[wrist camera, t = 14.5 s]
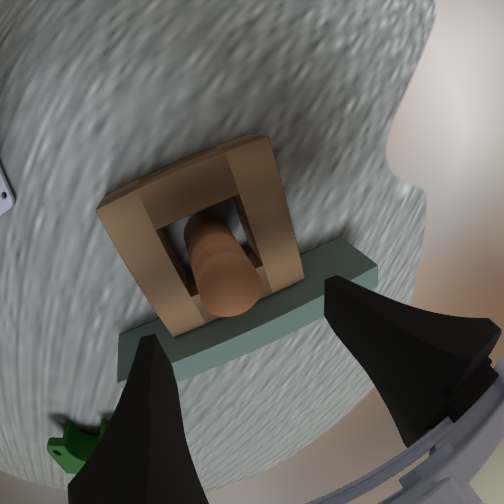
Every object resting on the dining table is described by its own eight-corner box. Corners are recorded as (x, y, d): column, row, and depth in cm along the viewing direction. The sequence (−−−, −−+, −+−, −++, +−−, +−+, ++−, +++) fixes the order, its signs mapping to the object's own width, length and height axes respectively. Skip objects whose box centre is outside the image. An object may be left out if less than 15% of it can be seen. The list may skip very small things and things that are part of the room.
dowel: (179, 219, 18) (192, 274, 12) (222, 207, 19) (258, 255, 13) (189, 258, 19) (208, 323, 14) (230, 246, 20) (265, 305, 14)
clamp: (114, 394, 29) (140, 440, 22) (129, 424, 31) (157, 468, 24) (38, 420, 22) (48, 471, 15) (59, 449, 23) (75, 498, 17)
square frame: (104, 195, 16) (95, 210, 13) (251, 133, 17) (268, 136, 14) (169, 310, 21) (173, 337, 18) (287, 258, 22) (304, 278, 20)
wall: (118, 335, 20) (117, 382, 16) (340, 236, 23) (377, 265, 19) (131, 350, 21) (133, 396, 17) (342, 255, 24) (377, 285, 20)
